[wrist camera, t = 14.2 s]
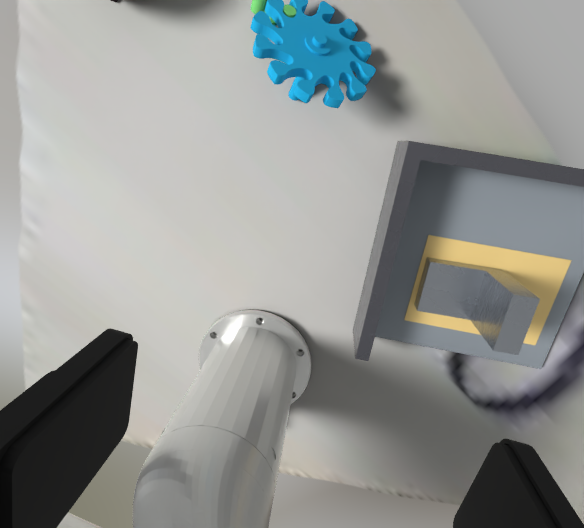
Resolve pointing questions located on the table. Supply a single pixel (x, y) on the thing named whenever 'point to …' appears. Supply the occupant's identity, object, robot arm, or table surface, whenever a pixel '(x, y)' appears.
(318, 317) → the table surface
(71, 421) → the robot arm
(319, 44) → the blue toy cog wheel
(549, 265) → the tray
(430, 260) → the bracket
